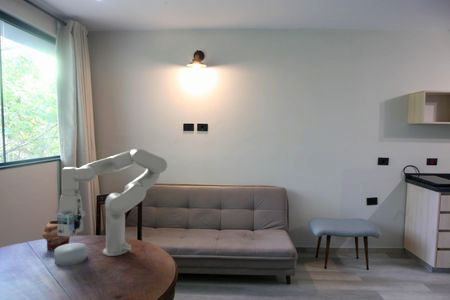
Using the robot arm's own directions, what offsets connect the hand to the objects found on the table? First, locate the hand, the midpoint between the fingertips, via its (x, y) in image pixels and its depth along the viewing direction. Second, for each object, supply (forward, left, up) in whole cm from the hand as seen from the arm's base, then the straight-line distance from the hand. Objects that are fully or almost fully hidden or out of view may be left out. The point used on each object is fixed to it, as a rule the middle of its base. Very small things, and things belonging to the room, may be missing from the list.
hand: (70, 227), depth 144 cm
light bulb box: (0, 0, -3) cm, 3 cm away
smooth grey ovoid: (0, 0, -16) cm, 16 cm away
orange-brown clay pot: (+18, -14, -17) cm, 28 cm away
